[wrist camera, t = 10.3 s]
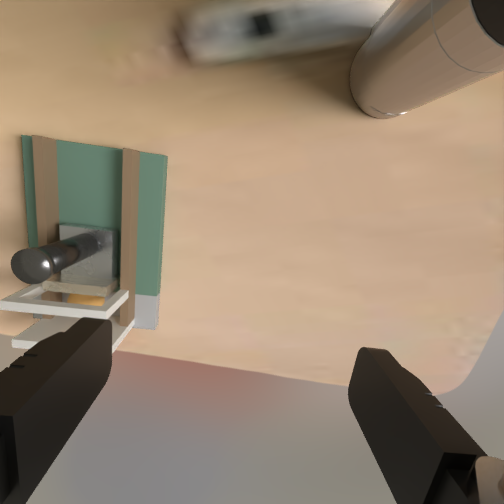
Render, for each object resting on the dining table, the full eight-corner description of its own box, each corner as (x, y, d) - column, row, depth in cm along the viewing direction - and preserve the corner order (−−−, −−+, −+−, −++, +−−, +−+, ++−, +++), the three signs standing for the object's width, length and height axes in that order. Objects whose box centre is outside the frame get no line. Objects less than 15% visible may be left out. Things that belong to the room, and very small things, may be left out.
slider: (63, 222, 33) (-15, 239, 23) (122, 229, 33) (71, 249, 23) (65, 278, 35) (-7, 316, 25) (121, 284, 35) (73, 324, 25)
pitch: (31, 136, 32) (-53, 118, 23) (167, 156, 33) (139, 146, 24) (41, 312, 38) (-24, 354, 28) (158, 324, 39) (132, 368, 30)
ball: (65, 322, 33) (82, 297, 36) (99, 325, 34) (112, 301, 37) (55, 301, 31) (74, 276, 34) (91, 304, 31) (106, 280, 34)
